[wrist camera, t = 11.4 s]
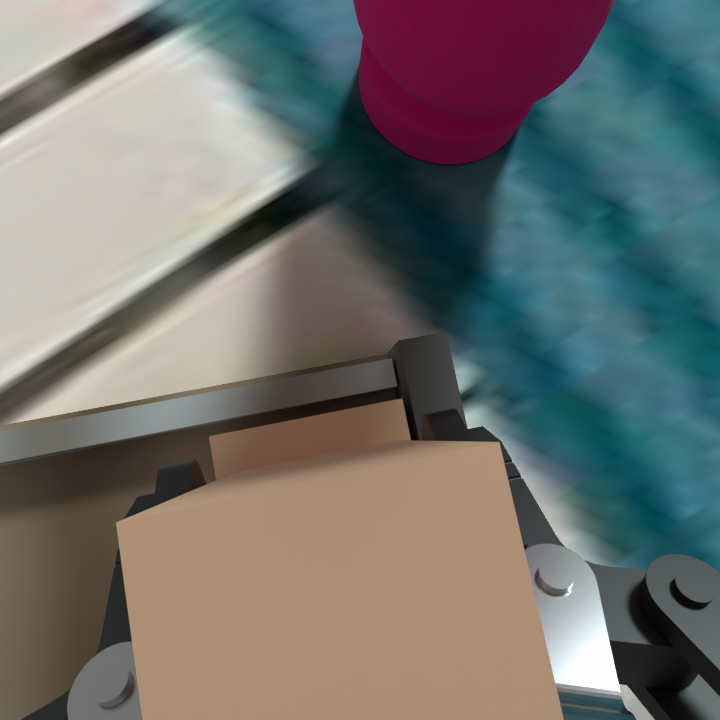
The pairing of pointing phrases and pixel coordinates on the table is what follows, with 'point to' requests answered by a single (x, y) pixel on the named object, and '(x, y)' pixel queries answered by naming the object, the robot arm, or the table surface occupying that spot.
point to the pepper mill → (466, 68)
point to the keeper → (337, 581)
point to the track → (146, 492)
